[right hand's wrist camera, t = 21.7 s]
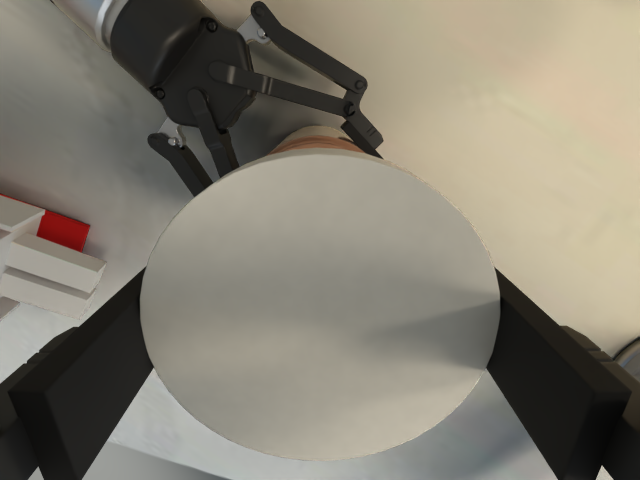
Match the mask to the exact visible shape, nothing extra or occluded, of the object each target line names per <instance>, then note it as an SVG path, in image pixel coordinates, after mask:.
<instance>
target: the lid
mask: <svg viewBox="0 0 640 480" xmlns="http://www.w3.org/2000/svg"><path fill="white" fill-rule="evenodd" d="M499 321H500V291H499V286H498V281H497V276H496V271H495V269H494V266H493V263H492V260H491V258H490V255H489V252H488V250H487V248H486V247H485V245H484V243H483V241H482V239H481V238H480V236H479V234H478V232H477V231H476V229H475V228H474V227H473V226H472V224H471V223H470V222H469V221H468V219H467V218H466V217H465V216H464V214H463V213H462V212H461V211H460V210H459V209H458V208H457V207H456V206H455V205H454V204H452V203H451V202H450V201H449V200H448V199H447V198H446V197H445V196H444V195H442V194H441V193H440V192H438V191H437V190H435V189H434V188H432V187H431V186H429V185H428V184H427V183H425V182H424V181H422V180H421V179H419V178H418V177H416V176H415V175H413V174H412V173H411V172H409V171H407V170H405V169H403V168H401V167H399V166H397V165H395V164H393V163H391V162H389V161H387V160H384V159H381V158H378V157H375V156H372V155H368V154H365V153H360V152H355V151H350V150H344V149H333V148H308V149H296V150H289V151H285V152H280V153H276V154H272V155H268V156H265V157H262V158H260V159H257V160H254V161H252V162H249V163H246V164H244V165H243V166H241V167H239V168H237V169H235V170H233V171H232V172H230V173H228V174H226V175H225V176H223V177H222V178H220V179H219V180H217V181H216V182H215V183H213V184H212V185H210V186H209V187H208V188H206V189H205V190H204V191H202V192H201V193H200V194H198V195H197V196H196V197H194V198H193V199H192V200H190V201H189V202H188V203H187V204H186V205H185V206H184V207H183V208H182V209H181V210H180V212H179V213H178V214H177V215H176V216H175V217H174V218H173V219H172V220H171V222H170V223H169V225H168V226H167V227H166V229H165V230H164V231H163V233H162V234H161V236H160V237H159V239H158V241H157V243H156V245H155V247H154V249H153V251H152V253H151V255H150V257H149V260H148V263H147V266H146V270H145V273H144V276H143V281H142V288H141V294H140V322H141V326H142V331H143V336H144V341H145V345H146V349H147V352H148V355H149V358H150V360H151V362H152V364H153V366H154V368H155V370H156V372H157V374H158V376H159V377H160V379H161V380H162V382H163V383H164V385H165V386H166V388H167V389H168V391H169V392H170V393H171V394H172V396H173V397H174V398H175V399H176V400H177V401H178V402H179V404H180V405H181V406H182V407H183V408H184V409H185V410H187V411H188V412H189V413H190V414H191V415H192V416H193V417H194V418H195V419H197V420H198V421H199V422H201V423H202V424H204V425H205V426H206V427H208V428H209V429H211V430H212V431H214V432H216V433H217V434H219V435H221V436H223V437H224V438H226V439H228V440H230V441H232V442H235V443H237V444H239V445H242V446H244V447H246V448H249V449H252V450H255V451H258V452H261V453H265V454H269V455H273V456H278V457H282V458H289V459H297V460H310V461H330V460H344V459H351V458H357V457H363V456H367V455H371V454H375V453H379V452H382V451H385V450H388V449H391V448H393V447H396V446H399V445H401V444H403V443H405V442H407V441H410V440H412V439H414V438H416V437H418V436H419V435H421V434H423V433H424V432H426V431H428V430H429V429H431V428H432V427H434V426H435V425H437V424H438V423H439V422H440V421H442V420H443V419H444V418H446V417H447V416H448V415H449V414H450V413H451V412H452V411H454V410H455V409H456V408H457V407H458V406H459V405H460V404H461V403H462V402H463V401H464V399H465V398H466V397H467V396H468V394H469V393H470V392H471V391H472V389H473V388H474V387H475V385H476V384H477V382H478V381H479V379H480V377H481V376H482V374H483V372H484V371H485V369H486V366H487V364H488V362H489V360H490V357H491V355H492V353H493V348H494V344H495V340H496V335H497V331H498V326H499Z"/></svg>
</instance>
